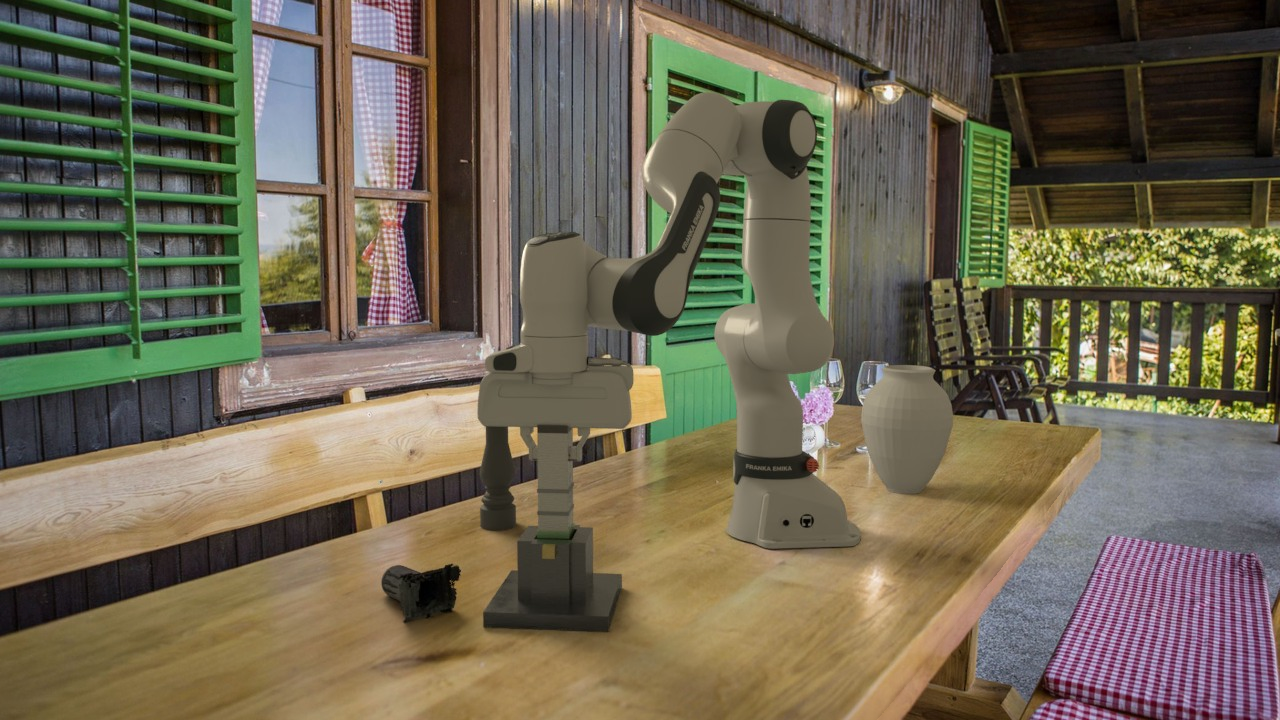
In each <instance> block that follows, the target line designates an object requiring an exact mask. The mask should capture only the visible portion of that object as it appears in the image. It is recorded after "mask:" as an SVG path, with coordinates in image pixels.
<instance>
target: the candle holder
mask: <svg viewBox="0 0 1280 720" xmlns="http://www.w3.org/2000/svg"><path fill="white" fill-rule="evenodd" d="M484 427H485V445H484V449H483V450H484V451H483V455H482V460H481V464H480V469H479V477H480V480H481V482H482V483H483V484H484V488H485V490H486V491H485V492H484V494H483V496H482V497H481V503H482V504H481V505H480V507H479V515H480V516H479V520H480V527H481V529H483V530H487V531H503V530H508V529H513V528H514V527H516V526H517V506H516V504H515V503H514V501H515V497H514V496H515V495H513V494H512V492H511V490H510V489H511V486H512V485H511V484H512V483H513V481H514V479H515V476H516V469H515V465H514V461H513V456H512V453H511V447H510V443H509V427H495V426H484Z"/></svg>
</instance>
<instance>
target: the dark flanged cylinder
mask: <svg viewBox="0 0 1280 720" xmlns="http://www.w3.org/2000/svg"><path fill="white" fill-rule="evenodd" d="M461 573H462V569H460V566H459V564H455V563H447V564H445V565H444V567H441V568H440V567H439V568H437V569H431V570H425V571H423V572H420V571H418V570H415V569H412V568H409V567H408V566H406V565H405V566H404V565H400V564H396V565H391V567H389V568H387V569H386V571H384V572H383V574H382V578H381V588H382V591H383V592H384V593H385V594H386V595H387V596H388V597H391V598H393V599H395V600H397V601H399V603H400V607H401V608H400V611H403V612H402V615H403V616H404V619H403V620H402V622H403V623H405V622H407V621H408V622H409V621H414V620H416V619H422V618H426V619H429V618H434V616H433V615H437V614H438V613H440V614H441V615H442V614H446V613H447V612H449V613H453V609H454V608H455V606H456V602H457V601H456V600H457V594H458V593H457V588H455V584H456V582H458V581H460V577H461Z"/></svg>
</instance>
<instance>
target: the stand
mask: <svg viewBox="0 0 1280 720" xmlns="http://www.w3.org/2000/svg"><path fill="white" fill-rule="evenodd" d="M537 530H538V525H527V527H526V528H525V530H524V531H523V533H522V534H521V535H520V536H519V538H518V539H517V541H516V543H517V544H516V548H517V550H516V554H517V557H516V558H517V561H516V562H517V570H513V569H512V570H510V572H509V573H508V575H507V576H506V578H505V579H504V581H503V582H502V583H501V585H500V586H499V588H498V589H497V591H496V592H495V594H494V595H493V596H492V598H491V600H490V601H489V602H488V604H487V606H486V607H485V608H484V610H483V612H482V615H483V616H482V620H483V621H482V622H483V623H482V625H483V626H482V627H483V628H492V629H493V628H497V629H498V628H499V629H518V630H519V629H524V630H525V629H526V630H546V631H547V630H550V631H573V632H574V631H576V632H577V631H578V632H581V631H582V632H598V633H599V632H601V633H602V632H603V633H604V632H605V633H608V632H609V631H610V627H611V623H612V621H613V618H614V614H615V611H616V607H617V605H618V601H619V598H620V594H621V592H622V588H623V574H622V573H609V572H608V573H605V572H604V573H603V572H602V573H601V572H599V573H598V572H594V527H587V526H586V527H585V526H584V527H583V526H581V524H574V530H575V532H574V533H573V538H572V540H547V539H537Z"/></svg>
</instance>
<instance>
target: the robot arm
mask: <svg viewBox="0 0 1280 720" xmlns="http://www.w3.org/2000/svg"><path fill="white" fill-rule="evenodd" d="M817 138H818V128H817V123H816V120H815V118H814V116H813V114H812V112H811V111H810V109H809V108H808V107H807V106H806V105H805V103H803V102H799V101H795V100H790V99H777V100H775V101H765V100H764V101H750V102H744V103H741V104H737V105H735V104H734V103H733V101H731V100H730V99H728V98H727V97H726V96H725V95H721V94H720V93H717V92H711V91H705V92H700V93H697V94H695V95H693V96H692V97H691V98H690V99H688V100H687V101H686V102H685V103H684V104H683V105H682V106H681V107H680V108H679V109H677V111H676V112H675V113H674V114H673V115H672V117H671V118H670V119H669V120H668V121H667V123H666V124H665V126H664V127H663V128H662V130H661V131H660V133H659V134H658V136H657V137H656V138H655V140H654V141H653V143H652V144H651V146H650V148H649V150H648V151H647V153H646V155H645V157H644V160H643V162H642V166H641V177H642V182H643V185H644V188H645V190H646V191H647V194H648V195H649V196H650V197H651V199H652V200H653V201H654V202H655V203H656V205H658V206H659V207H660V208H661V209H662V210H664V211H665V212H667V213H669V214H670V216H669V219H668V221H667V223H666V225H665V226H664V230H663V232H662V233H661V236H660V238H659V240H658V242H657V245H656V246H655V248H654V249H653V250H651V251H650V252H648V253H646V254H644V255H642V256H639V257H633V258H631V257H629V258H628V257H625V258H624V257H623V258H622V257H620V258H619V257H617V258H615V257H607V255H605V254H602V253H600V252H599V251H597V250H595V249H594V248H593V247H591V246H590V245H589V244H588V243H586V242H585V241H584V237H583V236H582V234H581V233H579V232H576V231H557V232H549V233H545V234H544V233H543V234H539V235H536V236H533V237H531V238H530V239H529V240H528V241H527V242H526V243H525V246H524V248H523V251H522V256H521V262H520V273H519V302H520V305H521V310H522V315H523V316H522V319H523V320H522V325H521V328H520V343H519V344H518V345H510V346H507V347H506V348H505V349H501V350H497V351H495V352H492V353H490V354H489V355H487V357H485V359H484V368H485V370H486V371H487V372H488V373H487V374H485V375H484V376H483V378H482V380H481V381H480V384H479V389H478V398H477V419H478V421H479V422H480V424H481V425H482V426H484V427H485V426H495V427H508V428H519V436H520V437H521V439H522V440H523V442H524V443H525V445H526V447H527V449H528V460H529V461H537V462H538V446H537V444H536V442H535V440H534V439H533V436H532V434H533V433H534V431H535V430H534V429H535V428H537V425H567V426H568V428H573V429H577V436H578V437H581V438H580V439H579V440H578V443H577V445H573V446H571V448H570V449H569V454H570V457H569V460H570V461H573V462H575V463H576V462H577V463H579V462H581V461H582V460H583V447H584V445H585V444H586V441H587V439H588V438H589V437H590V434H591V429H605V430H606V429H613V430H615V429H616V430H617V429H619V430H622V429H625V428H627V427H628V425H630V424H631V422H632V419H633V416H632V412H633V411H632V402H631V401H632V399H631V394H630V391H631V389H632V388H633V386H634V369H633V367H632V365H631V364H630V363H629V362H627V361H625V360H623V358H622V357H609V358H608V357H600V356H596V357H595V356H589V330H588V327H590V328H597V329H598V328H600V329H607V330H614V331H625V332H627V331H628V332H631V333H635V334H641V335H645V336H651V337H655V336H660V335H663V334H665V333H667V332H668V331H670V330H671V329H672V328H673V327H674V326H675V325H676V324H677V323H678V321H679V320H680V318H681V317H682V314H683V312H684V311H685V307H686V304H687V299H688V295H689V288H690V284H691V281H692V278H693V276H694V273H695V271H696V267H697V265H698V264H699V261H700V258H701V255H702V253H703V251H704V249H705V246H706V244H707V241H708V238H709V236H710V234H711V231H712V228H713V226H714V224H715V222H716V221H715V220H716V217H717V215H718V211H719V208H720V205H721V204H720V203H721V191H720V188H719V184H718V182H719V181H720V179H721V177H722V176H724V175H726V176H745V179H746V182H747V187H746V191H745V198H744V206H743V208H744V209H743V218H742V219H743V220H742V240H741V241H742V243H741V245H742V246H741V248H742V249H741V267H742V270H743V272H744V274H745V275H746V276H747V278H748V279H749V281H750V283H751V286H752V290H753V293H754V297H755V298H754V299H755V303H751V302H750V303H749V302H748V303H744V304H741V305H737V306H734V307H731V308H729V309H726V310H725V311H724V312H722V314H721V315H720V316H719V318H718V320H717V321H716V324H715V327H714V333H713V334H714V341H715V345H716V348H717V349H718V351H719V352H720V353H721V355H722V356H723V358H724V360H725V362H726V366H727V368H728V372H729V376H730V380H731V384H732V388H733V393H734V398H735V405H736V449H735V450H734V453H733V457H732V458H733V461H732V466H733V467H732V474H733V475H732V478H733V482H734V492H733V499H732V504H731V510H730V514H729V519H728V522H727V526H726V528H725V531H726V533H727V535H730V536H731V537H732V538H734V539H738V540H740V541H745V542H747V543H753V544H754V545H755V544H756V545H757V546H760V547H762V548H764V549H769V550H770V549H774V550H775V549H776V550H777V549H801V548H803V549H804V548H808V549H809V548H832V547H833V548H834V547H835V548H837V547H854V546H856V545H858V544H859V543H860V542H861V532H860V529H859V527H858V526H857V525H856V524H855V523H854V522H852V521H851V520H848V513H847V509H846V505H845V502H844V500H843V498H842V497H841V496H840V494H839V493H837V491H835V490H834V489H833V488H831V487H830V486H829V485H828V484H826V483H825V482H824V481H823V480H822V479H820V478H819V477H818V476H817V475H815V474H814V473H816V472H817V471H818V470H819V469H820V463H819V461H818V460H817V459H816V458H814V456H812V455H811V454H810V453H809V452H805V451H804V450H803V438H804V437H803V435H804V433H803V432H804V409H803V404H802V403H801V401H800V399H799V398H798V397H797V395H796V393H795V392H794V389H793V388H792V385H791V381H790V379H789V375H798V374H807V373H811V372H812V373H813V372H815V371H818V370H820V369H821V368H823V367H824V366H825V365H826V364H828V361H829V360H830V358H831V356H832V353H833V351H834V345H835V336H834V332H833V328H832V325H831V324H830V322H829V321H828V320H827V318H826V317H825V316H824V315H823V313H822V312H821V310H820V307H819V304H818V301H817V299H816V296H815V292H814V288H813V283H812V279H811V278H812V277H811V271H810V249H811V248H810V246H811V245H810V244H811V240H810V239H811V220H812V219H811V218H812V217H811V215H812V214H811V213H812V211H811V207H812V205H811V204H812V203H811V188H810V179H809V173H808V167H807V166H808V163H809V162H810V160H811V158H812V157H813V154H814V152H815V148H816V145H817V140H818V139H817Z"/></svg>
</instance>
